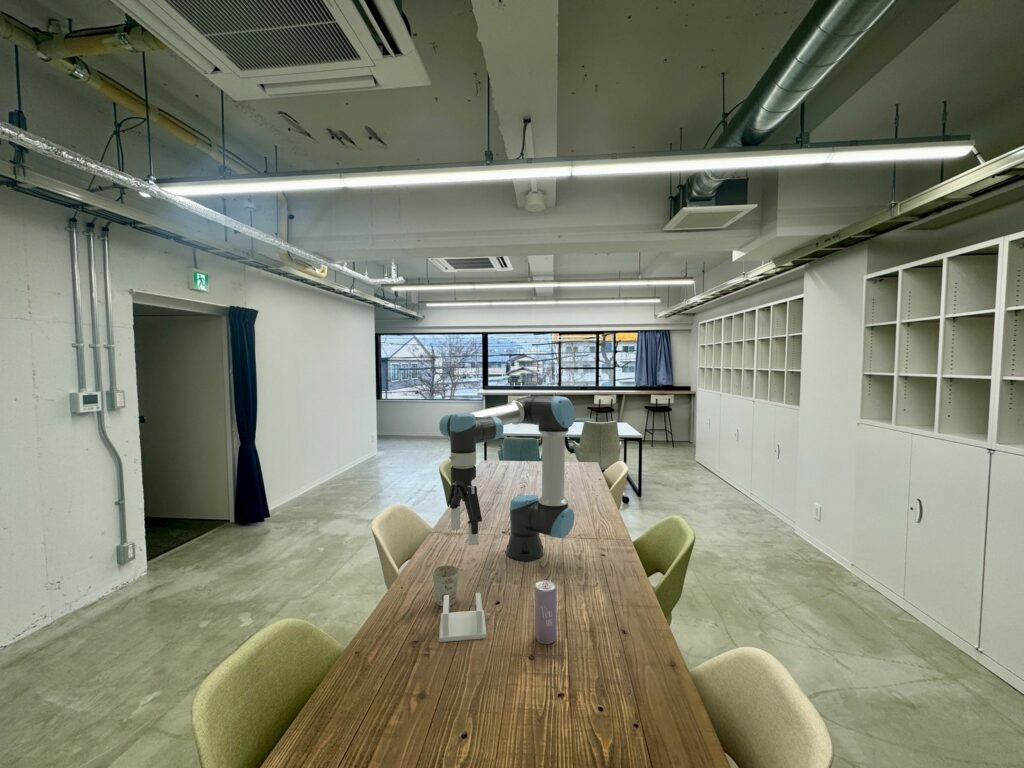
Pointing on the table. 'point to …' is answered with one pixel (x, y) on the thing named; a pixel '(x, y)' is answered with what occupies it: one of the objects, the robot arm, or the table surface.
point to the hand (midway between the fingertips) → (464, 536)
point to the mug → (445, 583)
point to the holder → (462, 622)
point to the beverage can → (545, 612)
